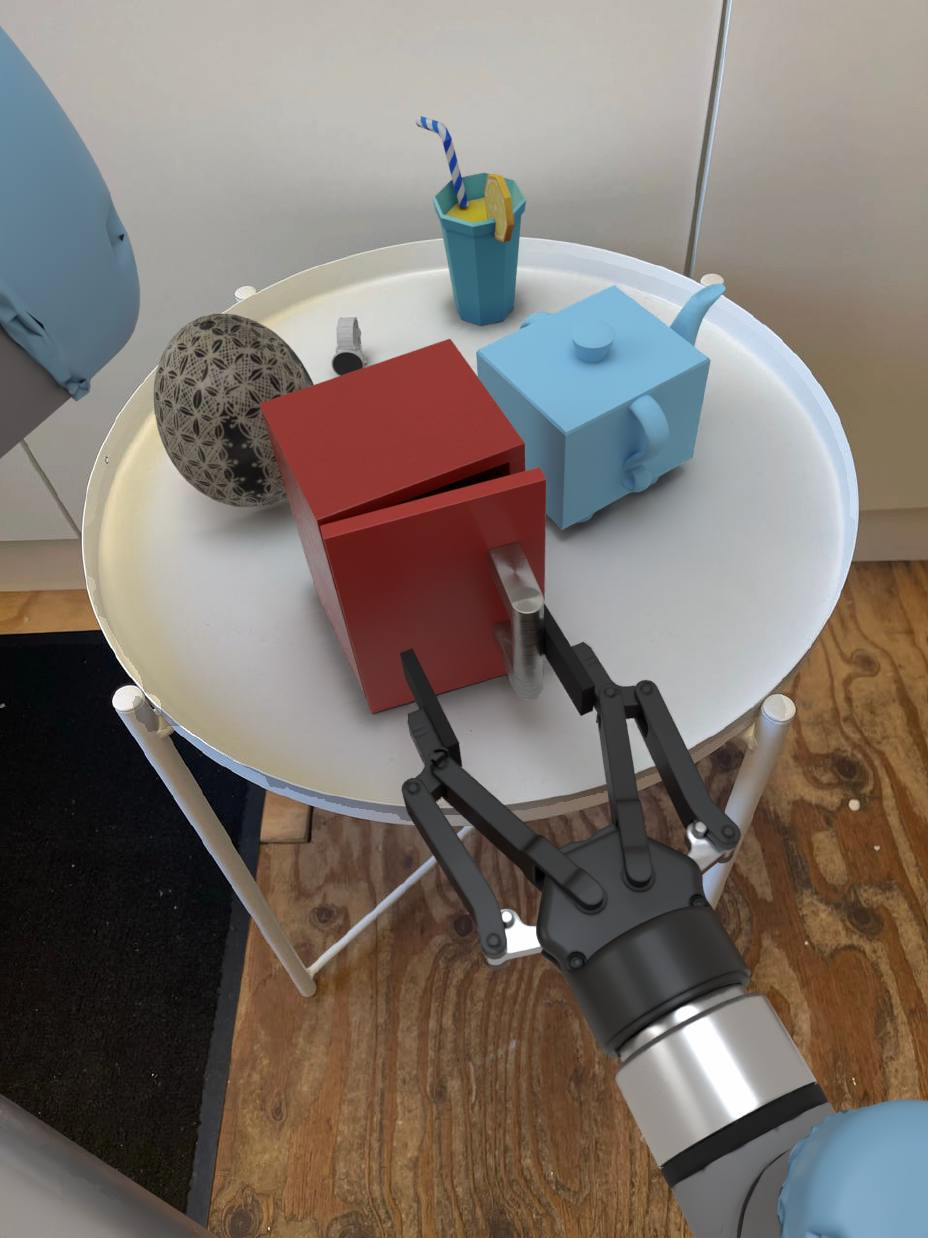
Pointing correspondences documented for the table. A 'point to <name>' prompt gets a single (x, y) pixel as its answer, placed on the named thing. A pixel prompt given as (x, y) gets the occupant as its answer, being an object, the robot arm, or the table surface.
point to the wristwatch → (348, 347)
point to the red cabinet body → (384, 448)
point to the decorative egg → (225, 406)
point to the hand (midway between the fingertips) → (472, 638)
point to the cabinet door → (446, 587)
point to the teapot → (601, 396)
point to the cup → (479, 236)
